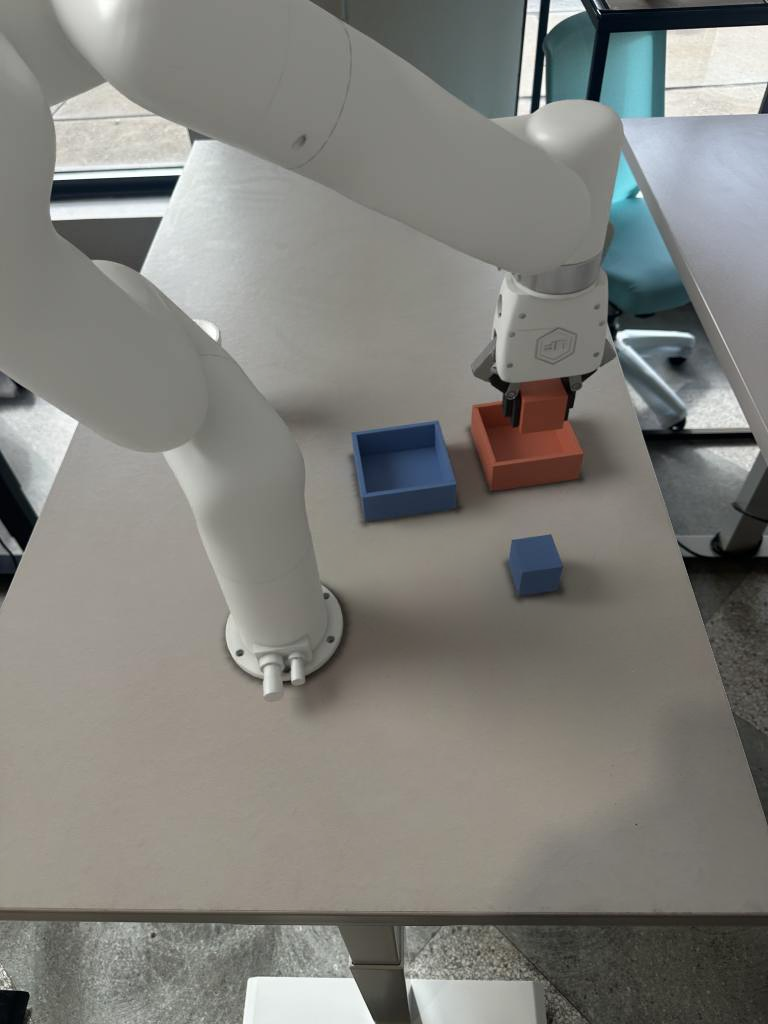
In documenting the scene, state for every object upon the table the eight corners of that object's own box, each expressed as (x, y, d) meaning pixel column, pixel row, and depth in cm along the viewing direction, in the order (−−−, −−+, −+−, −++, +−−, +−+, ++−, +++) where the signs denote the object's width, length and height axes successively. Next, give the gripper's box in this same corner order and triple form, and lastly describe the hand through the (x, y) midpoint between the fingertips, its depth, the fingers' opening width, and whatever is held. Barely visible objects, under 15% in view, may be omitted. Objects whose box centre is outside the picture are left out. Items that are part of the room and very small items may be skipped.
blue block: (558, 590, 81) (563, 566, 77) (518, 596, 80) (522, 572, 77) (546, 558, 83) (551, 533, 80) (508, 563, 83) (511, 539, 80)
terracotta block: (562, 429, 76) (568, 396, 73) (520, 434, 76) (524, 402, 73) (551, 400, 79) (556, 367, 76) (510, 405, 79) (513, 373, 76)
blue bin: (455, 509, 89) (456, 484, 85) (364, 522, 88) (362, 497, 85) (438, 445, 96) (438, 420, 93) (354, 457, 95) (351, 432, 92)
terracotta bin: (578, 478, 91) (584, 453, 88) (490, 491, 90) (492, 466, 87) (552, 418, 98) (556, 393, 95) (470, 430, 98) (472, 404, 94)
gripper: (469, 297, 61) (464, 450, 75) (666, 272, 61) (625, 429, 75) (453, 250, 66) (451, 402, 80) (636, 227, 66) (603, 382, 80)
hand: (536, 414), depth 78 cm, fingers closed on terracotta block, 4 cm apart
